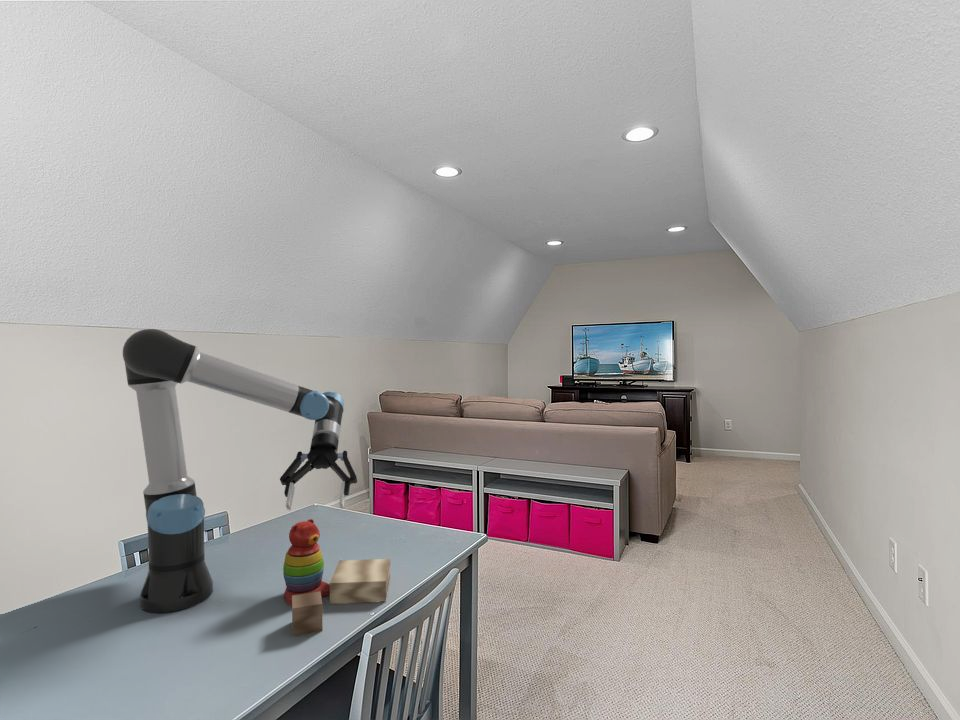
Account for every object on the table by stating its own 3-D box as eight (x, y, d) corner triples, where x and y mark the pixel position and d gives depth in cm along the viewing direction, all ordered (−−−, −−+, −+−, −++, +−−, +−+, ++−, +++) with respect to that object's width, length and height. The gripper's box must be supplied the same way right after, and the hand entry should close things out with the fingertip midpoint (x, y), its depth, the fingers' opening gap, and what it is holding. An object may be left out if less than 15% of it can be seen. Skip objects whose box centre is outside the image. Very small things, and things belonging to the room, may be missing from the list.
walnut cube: (292, 636, 110) (292, 608, 109) (292, 622, 115) (292, 595, 115) (322, 631, 112) (322, 603, 112) (320, 617, 117) (320, 591, 117)
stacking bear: (297, 609, 121) (296, 533, 120) (272, 596, 127) (272, 523, 126) (336, 592, 129) (335, 520, 129) (311, 580, 135) (310, 512, 135)
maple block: (329, 604, 123) (329, 583, 123) (339, 579, 136) (339, 560, 136) (385, 601, 124) (385, 581, 124) (390, 577, 137) (390, 558, 137)
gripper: (370, 445, 156) (364, 511, 142) (283, 447, 154) (268, 514, 139) (368, 430, 151) (361, 498, 136) (278, 432, 148) (262, 500, 134)
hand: (314, 506), depth 138 cm, fingers open, 13 cm apart
